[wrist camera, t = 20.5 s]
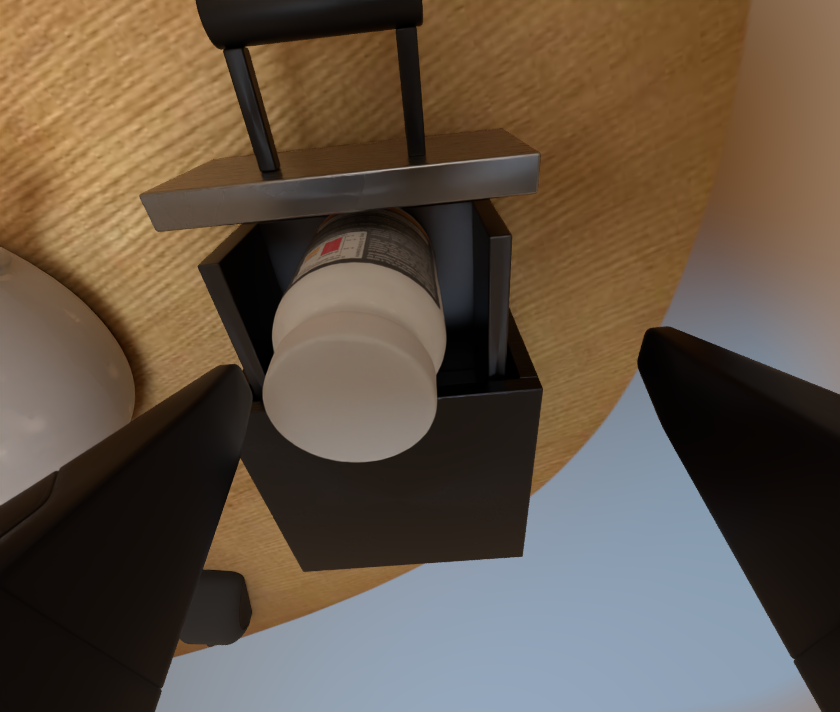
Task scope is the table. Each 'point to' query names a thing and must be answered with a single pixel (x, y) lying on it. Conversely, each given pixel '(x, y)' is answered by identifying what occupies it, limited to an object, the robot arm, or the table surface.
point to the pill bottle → (358, 340)
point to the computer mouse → (217, 610)
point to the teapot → (53, 377)
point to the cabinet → (412, 481)
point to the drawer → (349, 191)
